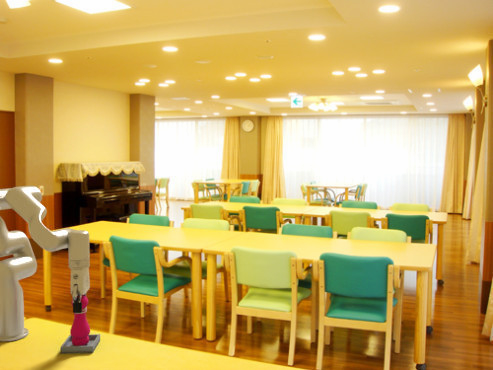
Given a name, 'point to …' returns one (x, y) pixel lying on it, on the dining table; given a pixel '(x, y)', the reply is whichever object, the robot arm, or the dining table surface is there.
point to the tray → (87, 348)
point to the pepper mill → (80, 325)
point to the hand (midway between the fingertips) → (79, 309)
